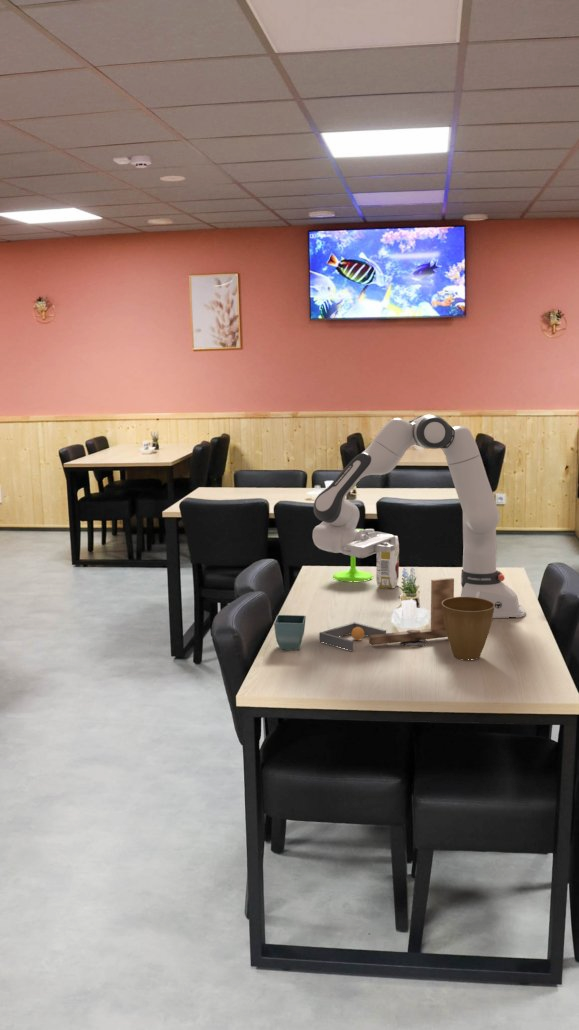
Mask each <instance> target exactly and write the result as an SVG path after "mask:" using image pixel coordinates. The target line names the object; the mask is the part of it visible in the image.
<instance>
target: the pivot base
mask: <svg viewBox="0 0 579 1030" xmlns="http://www.w3.org/2000/svg"><path fill="white" fill-rule="evenodd" d="M427 641H428V640H427V639H425V640H419V641H407V642H399V643H400V644H401V645H403V646H405V645H407V646H406V647H410V646H419V647H423V645H424V646H426V645H427ZM425 644H426V645H425Z"/></svg>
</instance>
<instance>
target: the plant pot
mask: <svg viewBox="0 0 579 1030" xmlns="http://www.w3.org/2000/svg"><path fill="white" fill-rule="evenodd" d="M494 606H495V605H494V603H493V602H491V601H488V600H485V599H481V598H476V597H461V596H454V597H453V598H448V599H445V600H443V601H442V611H443V618H444V623H445V628H446V633H447V637H446V638H447V640H448V643H449V646H450V650H451V653H452V655H453V657H454V658H455V659H457V658H458V659H457V660H460V659H463V660H462V661H467V660H468V659H469V660H470V661H472V660H471V659H476V658H478V659H480V657H481V655H482V653H483V650H484V648H485V645H486V642H487V640H488V636H489V632H490V630H491V626H492V621H493V618H492V617H493V612H494ZM476 660H477V659H476Z"/></svg>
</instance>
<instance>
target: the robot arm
mask: <svg viewBox="0 0 579 1030" xmlns="http://www.w3.org/2000/svg"><path fill="white" fill-rule="evenodd" d="M415 445H416V446H418V447H421V448H423V449H427V450H428V449H432V450H435V449H440V450H442V452H443V455H444V456H445V460H446V463H447V466H448V469H449V470H448V471H449V472H450V477H451V479H452V482H453V485H454V488H455V491H456V495H457V497H458V502H459V504H460V506H461V509H462V545H463V546H462V547H463V549H462V550H463V552H462V553H463V555H462V569H461V573H460V574H461V575H460V577H461V578H460V584H461V592H460V597H476V598H481V599H485V600H488V601H491V602H493V603H494V605H495V606H494V612H493V617H492V619H503V618H504V619H507V618H508V619H509V617H516V618H523V617H524V616H526V608H525V607H524V606H522V605H520V601H519V597H518V595H517V593H516V592H515V591H514V590H513V589H512V588H511V587H509V586H508V585H506V584H505V583H504V582H503V581H504V580H505V579H506V578H505V575H504V574H503V573H502V572H501V571H500V570H499V571H498V570H497V560H498V559H497V558H498V557H497V553H498V551H497V549H498V546H497V527H498V525H499V522H500V520H501V518H500V517H501V515H500V511H499V508H498V505H497V502H496V499H495V496H494V493H493V490H492V487H491V484H490V482H489V478H488V475H487V472H486V467H485V466H484V463H483V459H482V456H481V453H480V450H479V446H478V444H477V441H476V439H475V438H474V435H473V434H472V432H471V430H470V429H469V428H468V427H466V426H462V425H455V426H451V425H450V423H448V422H447V421H446V419H444V418H442V417H440V416H438V415H435V414H425V415H424V414H423V415H420V416H417V417H415V418H413V419H411V420H410V421H408V420H405V419H404V418H400V417H395V418H392V419H390V420H389V421H388V422H387V423H386V424H385V425H384V426H383V427H382V428H381V429H380V430H379V432H378V433H377V435H376V436H375V437H374V439H373V440H372V441H371V443H370V444H369V445H368V446H367V448H365V450H363V451H362V452H361V453H359V454H357V455H356V456H355V457H353V458H352V459H351V460H350V461H349V463H348V464H347V465H346V466H345V467H344V468H343V469H342V471H340V473H339V475H337V477H336V478H335V479H334V480H333V481H332V482H331V484H330V485H328V486H327V487H326V488H325V489H324V490H323V491H321V492H320V493H319V494H318V495H317V496H316V497H315V500H314V502H313V513H314V516H315V517H316V518H317V519H318V521H322V522H321V523H319V524H318V525H316V526H314V528H313V530H312V540H313V544H314V545H315V547H317V549H319V550H322V551H325V552H328V553H334V554H339V553H341V554H343V555H346V556H350V557H351V556H353V557H356V558H358V559H364V558H367V557H369V556H372V555H375V554H377V553H378V552H391V551H394V550H395V543H396V538H395V536H396V535H394V534H391V533H387V532H382V531H375V529H374V528H365V529H364V528H357V527H358V523H359V521H360V516H361V515H360V509H359V508H358V506H357V505H356V504H354V503H353V502H351V501H349V500H348V499H345V498H346V497H347V495H348V494H349V493H350V491H351V490H352V489H353V488H354V487H355V486H356V484H358V482H359V481H360V480H361V479H362V478H364V477H367V476H371V475H373V476H375V475H376V476H381V475H387V474H389V473H391V472H392V471H393V470H394V469H395V468H396V467H397V466H398V464H399V462H400V461H401V460H402V458H403V457H404V455H405V453H406V452H407V451H408V450H409V448H411V447H412V446H415ZM361 529H363V530H361ZM522 616H523V617H522Z"/></svg>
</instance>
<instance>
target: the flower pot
mask: <svg viewBox="0 0 579 1030" xmlns="http://www.w3.org/2000/svg"><path fill="white" fill-rule="evenodd" d="M306 618H307V616H306V615H304V614H303V615H299V614H297V615H293V614H277V615H276V617H275V620H274V621H273V625H274V636H275V640H276V643H277V645H278V647H279V648H280V649H281V650H283V649H298V650H299V648H300V647H301V643H302V641H303V637H304V634H305V628H306V620H307V619H306Z"/></svg>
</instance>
